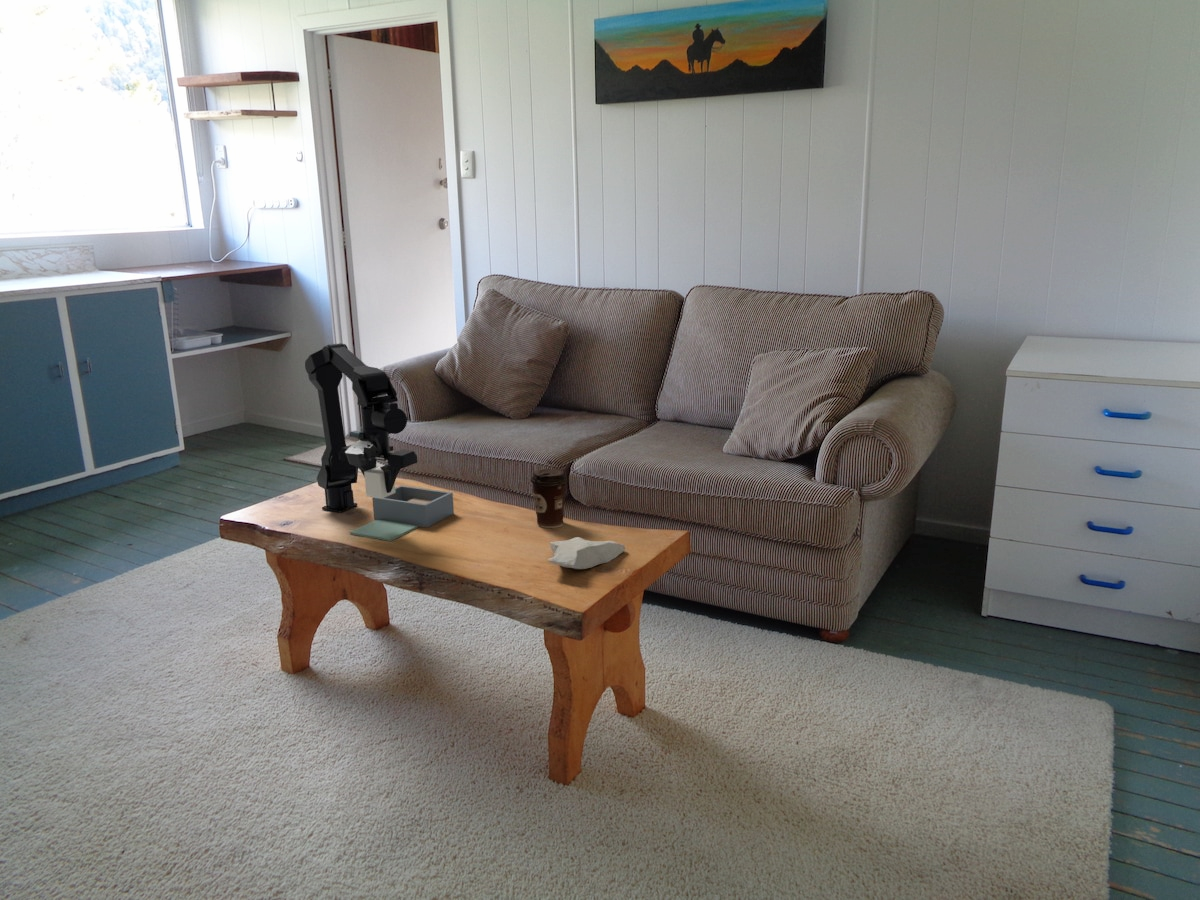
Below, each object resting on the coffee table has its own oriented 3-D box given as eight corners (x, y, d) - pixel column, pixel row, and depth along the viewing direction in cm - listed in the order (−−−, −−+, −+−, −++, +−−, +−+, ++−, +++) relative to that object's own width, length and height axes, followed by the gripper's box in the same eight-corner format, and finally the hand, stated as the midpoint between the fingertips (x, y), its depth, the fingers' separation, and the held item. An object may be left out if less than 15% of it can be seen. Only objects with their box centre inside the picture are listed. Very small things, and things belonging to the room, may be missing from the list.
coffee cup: (538, 532, 213) (535, 478, 210) (527, 521, 221) (525, 469, 218) (573, 526, 217) (571, 474, 213) (561, 516, 224) (559, 465, 221)
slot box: (374, 518, 225) (372, 497, 224) (402, 505, 235) (400, 485, 233) (427, 527, 218) (425, 505, 217) (453, 513, 228) (452, 492, 226)
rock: (517, 570, 192) (570, 580, 183) (516, 548, 192) (569, 557, 182) (583, 548, 209) (635, 556, 199) (582, 528, 208) (634, 535, 198)
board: (350, 534, 215) (349, 532, 215) (377, 521, 224) (377, 519, 223) (390, 541, 210) (390, 539, 210) (417, 527, 218) (417, 525, 218)
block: (366, 496, 213) (364, 471, 212) (380, 490, 218) (378, 466, 216) (381, 498, 211) (379, 473, 210) (395, 492, 216) (393, 468, 214)
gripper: (319, 430, 207) (325, 496, 211) (384, 438, 199) (390, 506, 203) (352, 420, 217) (358, 483, 221) (416, 426, 209) (421, 492, 213)
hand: (380, 491), depth 214 cm, fingers closed on block, 4 cm apart
